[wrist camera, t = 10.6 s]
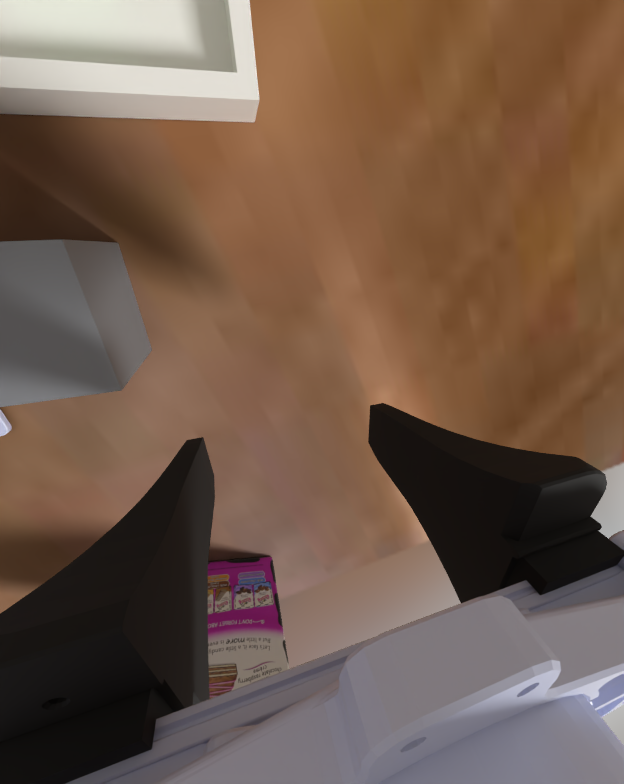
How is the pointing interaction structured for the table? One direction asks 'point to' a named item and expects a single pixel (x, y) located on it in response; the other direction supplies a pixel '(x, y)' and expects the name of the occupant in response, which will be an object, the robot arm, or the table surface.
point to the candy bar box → (243, 624)
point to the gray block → (66, 321)
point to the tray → (128, 59)
